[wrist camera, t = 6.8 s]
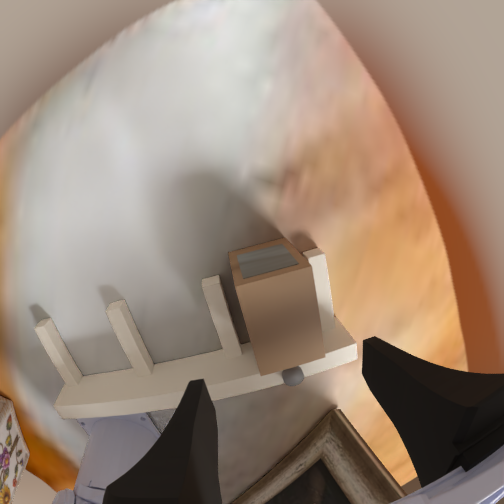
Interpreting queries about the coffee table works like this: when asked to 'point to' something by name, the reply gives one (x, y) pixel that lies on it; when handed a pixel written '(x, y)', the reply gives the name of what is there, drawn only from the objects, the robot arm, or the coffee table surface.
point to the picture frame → (327, 471)
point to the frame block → (278, 305)
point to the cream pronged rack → (187, 360)
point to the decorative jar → (10, 452)
